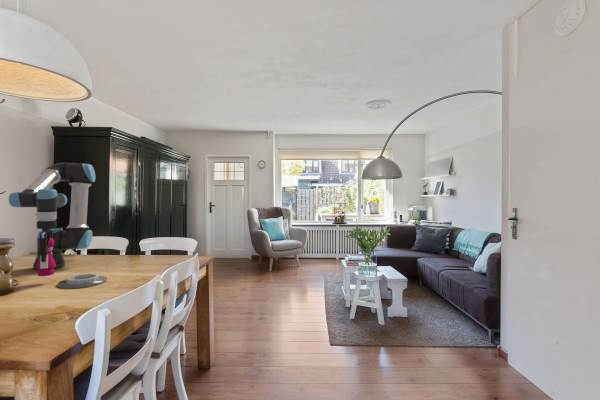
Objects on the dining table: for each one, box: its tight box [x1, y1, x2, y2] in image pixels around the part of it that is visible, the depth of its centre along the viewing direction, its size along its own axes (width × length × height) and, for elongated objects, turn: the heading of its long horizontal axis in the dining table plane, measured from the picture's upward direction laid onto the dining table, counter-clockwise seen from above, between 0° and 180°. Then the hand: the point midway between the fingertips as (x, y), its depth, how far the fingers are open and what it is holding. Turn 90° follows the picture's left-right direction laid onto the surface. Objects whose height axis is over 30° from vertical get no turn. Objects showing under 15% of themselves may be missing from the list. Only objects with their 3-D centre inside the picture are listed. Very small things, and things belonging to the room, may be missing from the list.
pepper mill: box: [36, 238, 56, 277], centre depth 146 cm, size 7×7×20 cm
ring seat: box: [57, 273, 108, 290], centre depth 149 cm, size 20×20×3 cm
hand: (46, 266), depth 147 cm, fingers closed on pepper mill, 7 cm apart
